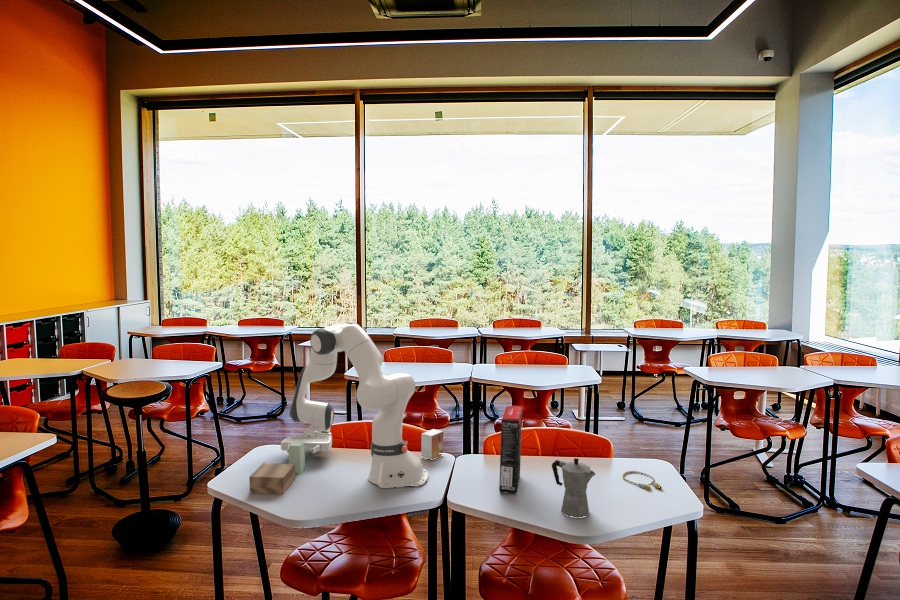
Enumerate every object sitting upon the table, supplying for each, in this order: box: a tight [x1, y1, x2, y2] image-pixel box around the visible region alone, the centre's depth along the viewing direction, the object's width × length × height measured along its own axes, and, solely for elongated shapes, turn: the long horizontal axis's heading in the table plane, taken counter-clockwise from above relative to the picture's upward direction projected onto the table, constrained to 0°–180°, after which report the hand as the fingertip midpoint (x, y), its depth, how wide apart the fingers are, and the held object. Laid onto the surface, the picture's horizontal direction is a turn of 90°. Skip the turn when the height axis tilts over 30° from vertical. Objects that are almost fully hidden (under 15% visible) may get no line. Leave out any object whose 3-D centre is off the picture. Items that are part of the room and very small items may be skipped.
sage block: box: [288, 441, 306, 475], centre depth 208 cm, size 4×5×11 cm
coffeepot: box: [551, 458, 596, 517], centre depth 176 cm, size 15×9×18 cm, turn 50°
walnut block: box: [248, 462, 296, 495], centre depth 194 cm, size 12×12×6 cm
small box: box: [420, 428, 444, 460], centre depth 223 cm, size 8×6×10 cm
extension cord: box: [622, 470, 663, 491], centre depth 200 cm, size 12×16×2 cm
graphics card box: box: [498, 405, 523, 494], centre depth 196 cm, size 17×7×27 cm, turn 169°
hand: (300, 451), depth 212 cm, fingers open, 8 cm apart
